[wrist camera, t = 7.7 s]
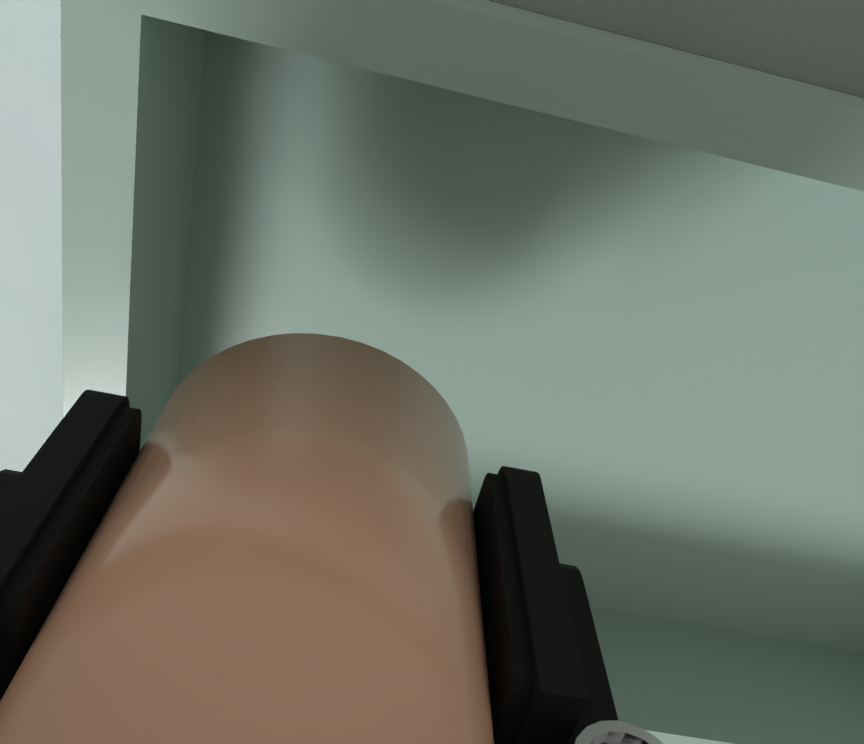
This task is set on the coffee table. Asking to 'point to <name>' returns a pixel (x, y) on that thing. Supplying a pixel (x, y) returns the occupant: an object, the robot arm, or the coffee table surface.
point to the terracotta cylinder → (275, 569)
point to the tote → (519, 296)
